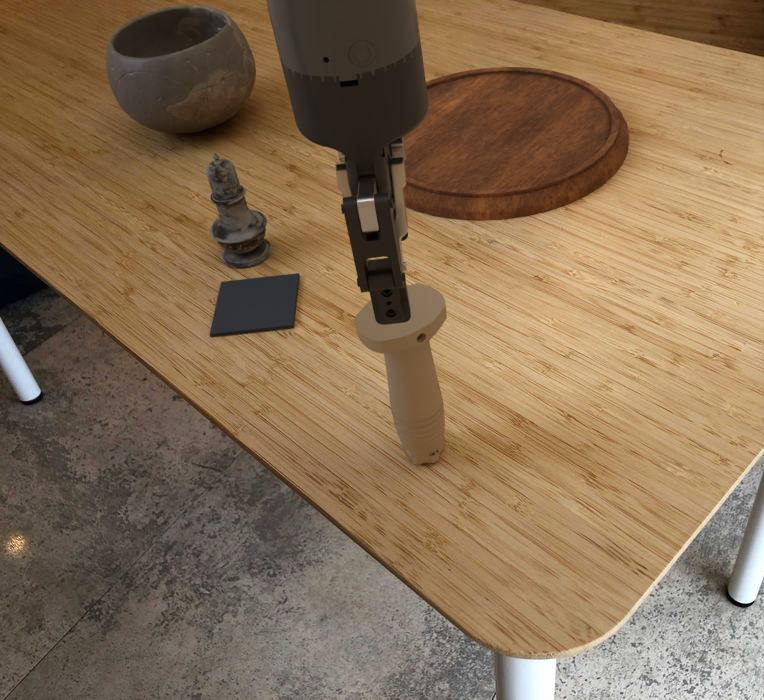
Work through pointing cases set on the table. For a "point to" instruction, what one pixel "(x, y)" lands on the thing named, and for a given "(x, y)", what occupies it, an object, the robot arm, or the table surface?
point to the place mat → (255, 305)
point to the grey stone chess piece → (236, 218)
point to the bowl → (180, 68)
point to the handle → (411, 371)
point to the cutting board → (511, 144)
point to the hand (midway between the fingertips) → (393, 277)
